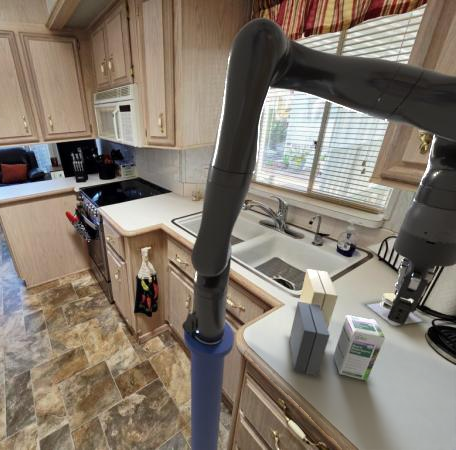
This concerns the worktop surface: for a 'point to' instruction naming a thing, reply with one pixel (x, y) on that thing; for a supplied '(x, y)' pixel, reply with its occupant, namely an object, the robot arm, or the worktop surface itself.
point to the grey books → (308, 338)
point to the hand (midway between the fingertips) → (398, 308)
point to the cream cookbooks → (319, 292)
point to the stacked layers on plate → (385, 307)
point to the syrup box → (358, 347)
